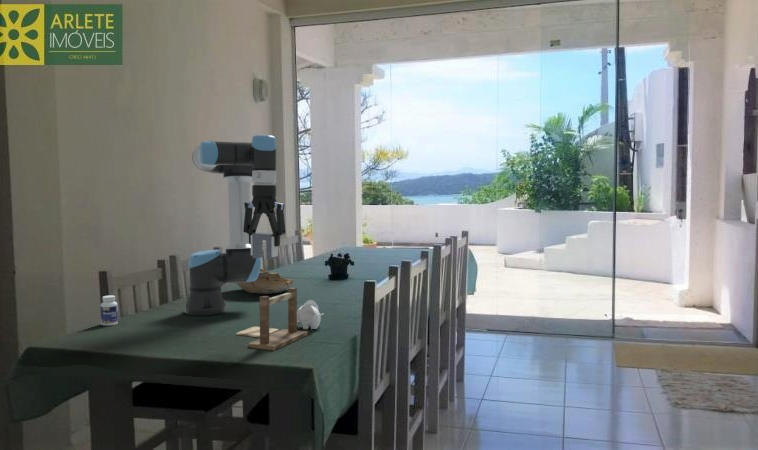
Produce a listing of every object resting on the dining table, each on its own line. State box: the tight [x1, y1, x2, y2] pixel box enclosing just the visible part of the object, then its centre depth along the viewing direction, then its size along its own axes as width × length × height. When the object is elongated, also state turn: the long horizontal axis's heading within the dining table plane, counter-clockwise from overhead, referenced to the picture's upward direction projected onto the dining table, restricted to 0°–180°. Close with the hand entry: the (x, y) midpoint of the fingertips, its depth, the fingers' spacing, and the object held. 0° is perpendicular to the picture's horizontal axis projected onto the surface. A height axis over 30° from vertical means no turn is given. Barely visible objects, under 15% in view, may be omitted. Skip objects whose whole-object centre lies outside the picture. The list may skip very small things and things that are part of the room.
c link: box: [252, 232, 277, 261], centre depth 195 cm, size 7×3×8 cm, turn 67°
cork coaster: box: [236, 326, 280, 339], centre depth 200 cm, size 10×10×1 cm
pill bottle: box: [100, 294, 119, 326], centre depth 210 cm, size 5×5×10 cm
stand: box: [247, 287, 309, 352], centre depth 189 cm, size 20×9×15 cm, turn 157°
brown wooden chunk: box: [236, 268, 294, 295], centre depth 274 cm, size 30×27×15 cm
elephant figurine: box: [297, 299, 325, 330], centre depth 207 cm, size 10×12×9 cm
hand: (264, 255), depth 195 cm, fingers closed on c link, 7 cm apart
